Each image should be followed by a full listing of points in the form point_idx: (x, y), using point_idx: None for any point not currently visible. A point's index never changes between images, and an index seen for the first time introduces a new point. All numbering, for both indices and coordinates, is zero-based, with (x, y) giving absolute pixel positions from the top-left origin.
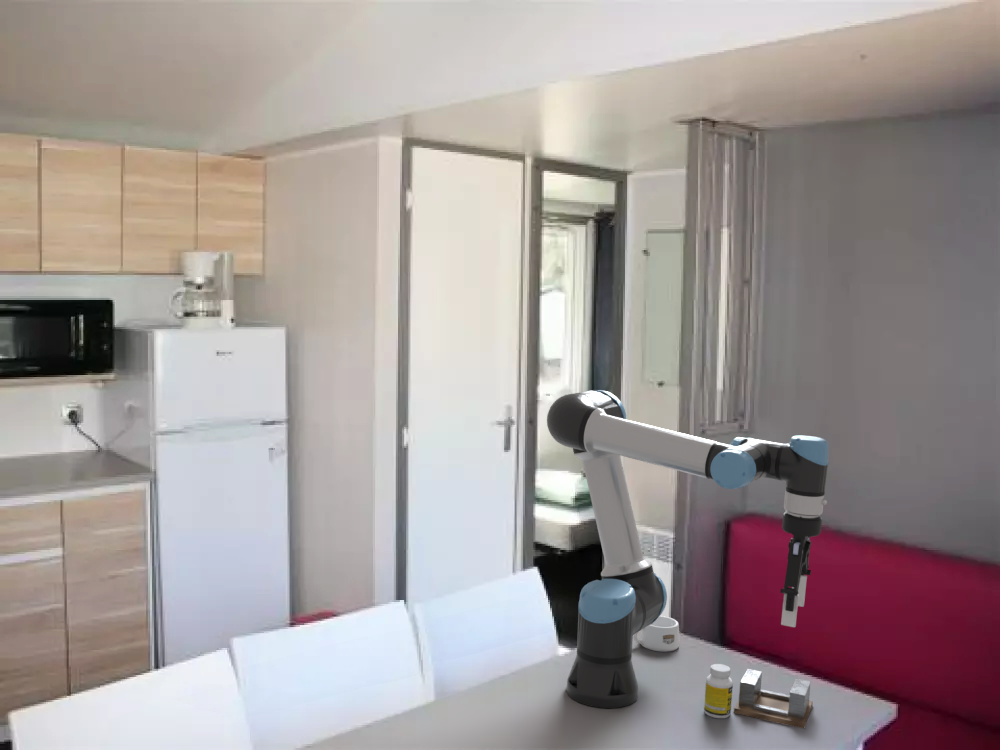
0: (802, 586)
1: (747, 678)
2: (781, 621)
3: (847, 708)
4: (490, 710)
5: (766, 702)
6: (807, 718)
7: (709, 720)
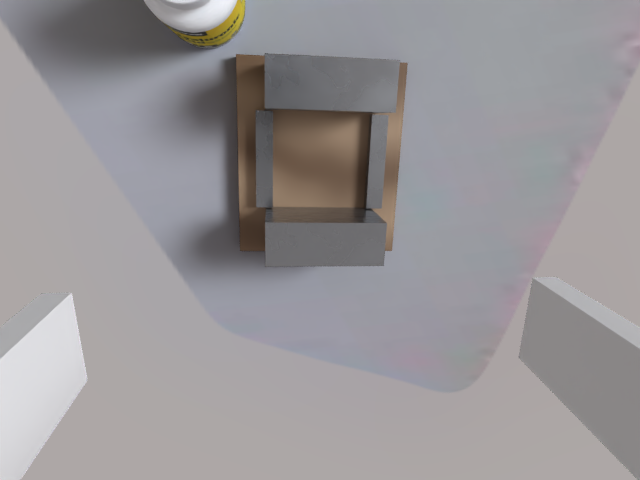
0: (635, 445)
1: (309, 73)
2: (27, 306)
3: (412, 320)
4: None
5: (325, 139)
6: None
7: None
